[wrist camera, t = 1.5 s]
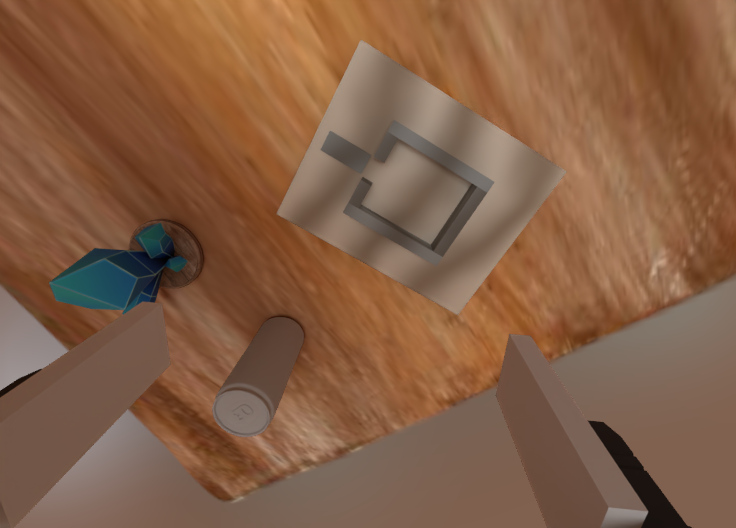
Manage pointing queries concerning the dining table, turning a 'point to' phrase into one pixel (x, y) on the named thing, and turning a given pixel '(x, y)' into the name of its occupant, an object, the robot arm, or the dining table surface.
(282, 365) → the beverage can
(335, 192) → the holder board
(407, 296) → the dining table surface
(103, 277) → the gemstone
